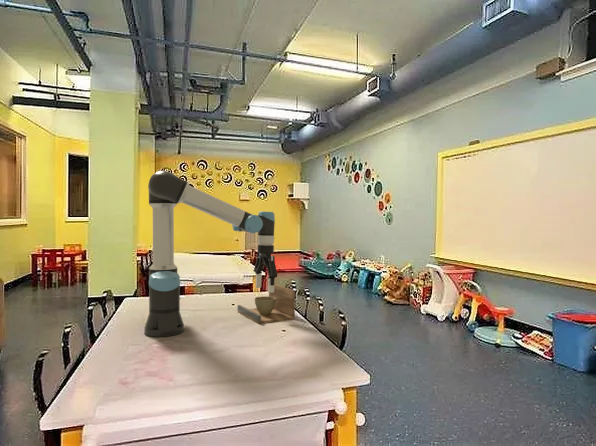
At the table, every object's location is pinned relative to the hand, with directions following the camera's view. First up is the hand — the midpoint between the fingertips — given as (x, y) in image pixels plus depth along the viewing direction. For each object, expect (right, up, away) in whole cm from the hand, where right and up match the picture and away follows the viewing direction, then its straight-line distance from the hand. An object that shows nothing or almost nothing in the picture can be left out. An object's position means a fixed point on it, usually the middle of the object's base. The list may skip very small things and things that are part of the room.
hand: (264, 290), depth 193 cm
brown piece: (0, -12, 0) cm, 12 cm away
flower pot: (0, -11, 0) cm, 11 cm away
